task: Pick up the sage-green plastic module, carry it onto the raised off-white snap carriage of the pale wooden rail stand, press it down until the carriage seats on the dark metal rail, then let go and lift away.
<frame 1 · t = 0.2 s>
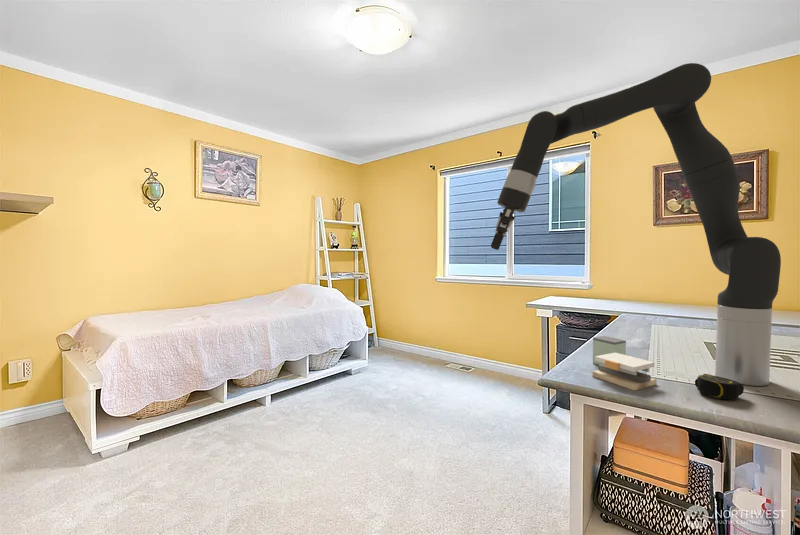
hand: (494, 248, 97), 31 cm above the table, fingers open, 8 cm apart
snap carriage: (622, 363, 84), point 4 cm above the table, slide at 1.5 cm
tape measure: (716, 396, 76), on the table
module: (608, 365, 96), on the table
rail stand: (623, 380, 85), on the table
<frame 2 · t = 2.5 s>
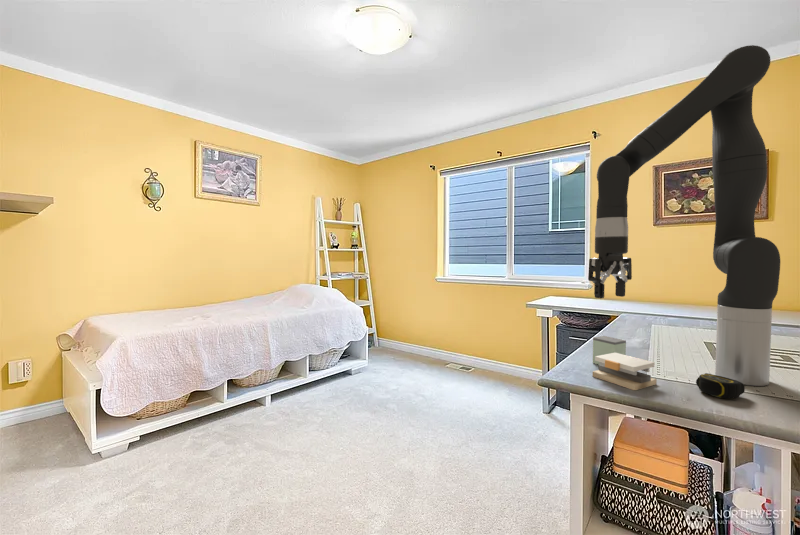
hand: (610, 297, 95), 18 cm above the table, fingers open, 8 cm apart
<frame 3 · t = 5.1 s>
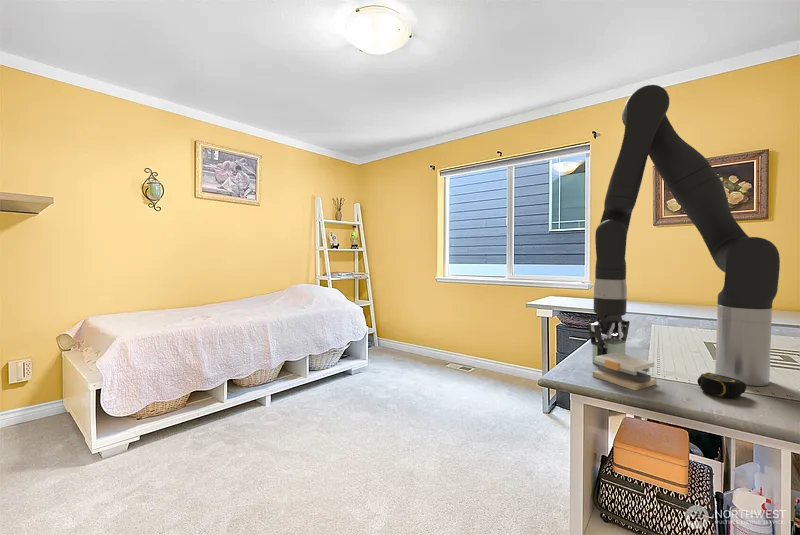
hand: (608, 359, 96), 1 cm above the table, fingers closed on module, 4 cm apart
module: (608, 364, 96), on the table, touching gripper
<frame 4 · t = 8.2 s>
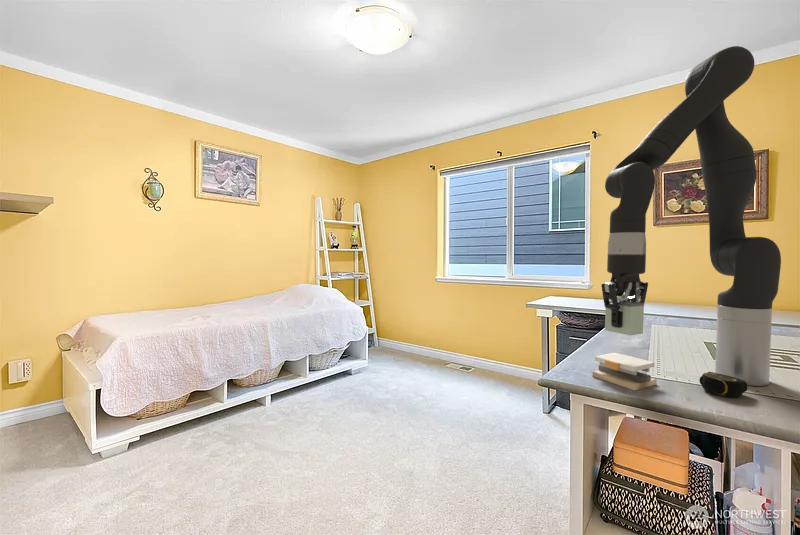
hand: (623, 325, 84), 13 cm above the table, fingers closed on module, 4 cm apart
module: (623, 331, 84), point 11 cm above the table, touching gripper
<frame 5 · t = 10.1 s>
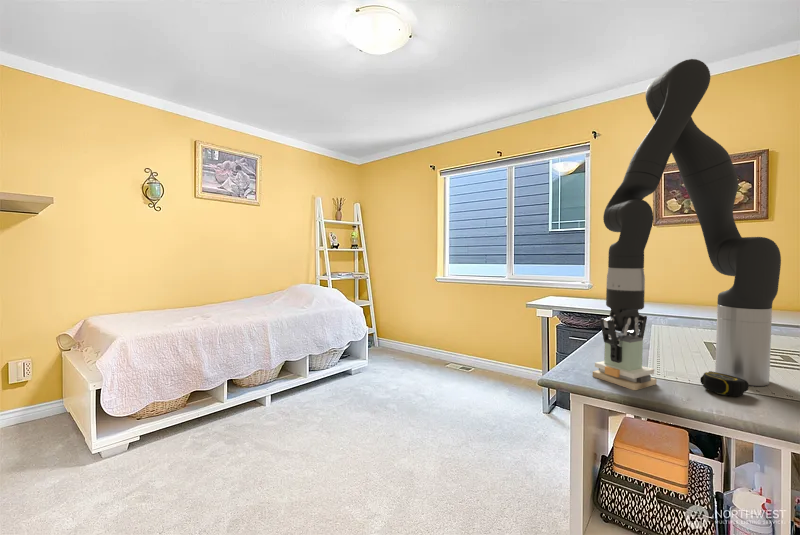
hand: (623, 359, 84), 5 cm above the table, fingers closed on module, 4 cm apart
snap carriage: (622, 370, 84), point 2 cm above the table, slide at -0.1 cm, touching module, rail stand
module: (622, 365, 85), point 3 cm above the table, touching gripper, snap carriage
when the fingers open (5 cm above the table, at t = 11.2 s): module stays where it is, resting on snap carriage.
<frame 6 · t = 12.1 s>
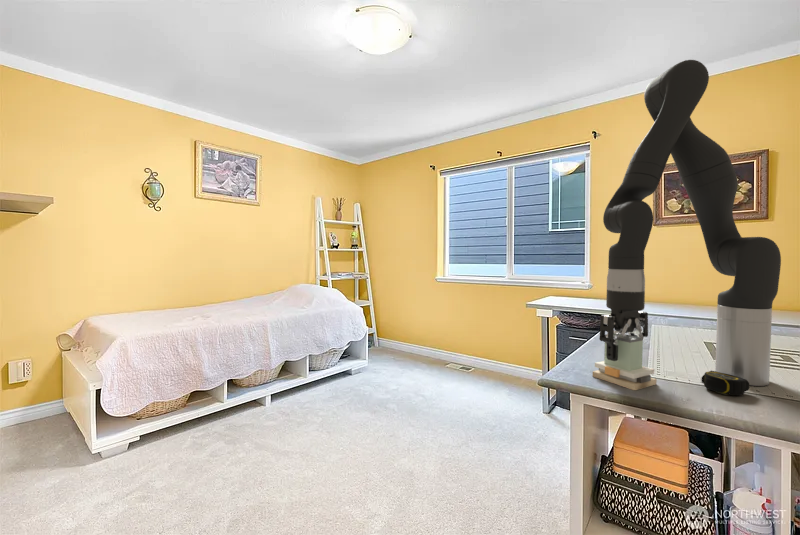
hand: (623, 357, 84), 5 cm above the table, fingers open, 8 cm apart
module: (622, 365, 85), point 3 cm above the table, touching snap carriage
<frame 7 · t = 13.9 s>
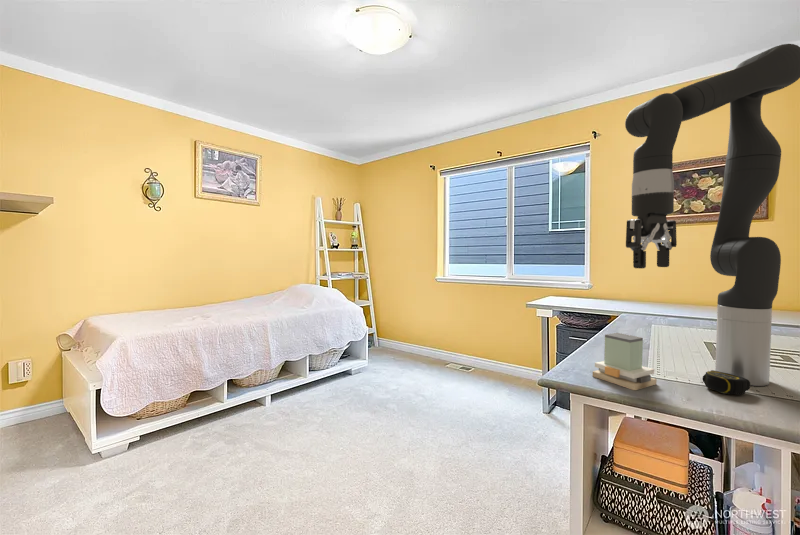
hand: (651, 267, 79), 27 cm above the table, fingers open, 8 cm apart
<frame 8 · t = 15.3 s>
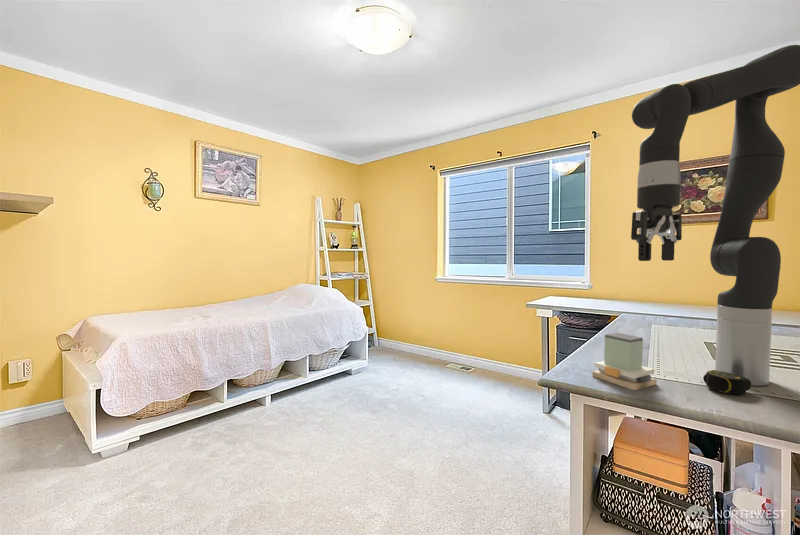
hand: (656, 260, 78), 28 cm above the table, fingers open, 8 cm apart
at the end: snap carriage slide at -0.1 cm; module 0.1 cm off-centre on the rail stand, point 3.4 cm above the rail stand's base; module tilted 0° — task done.
